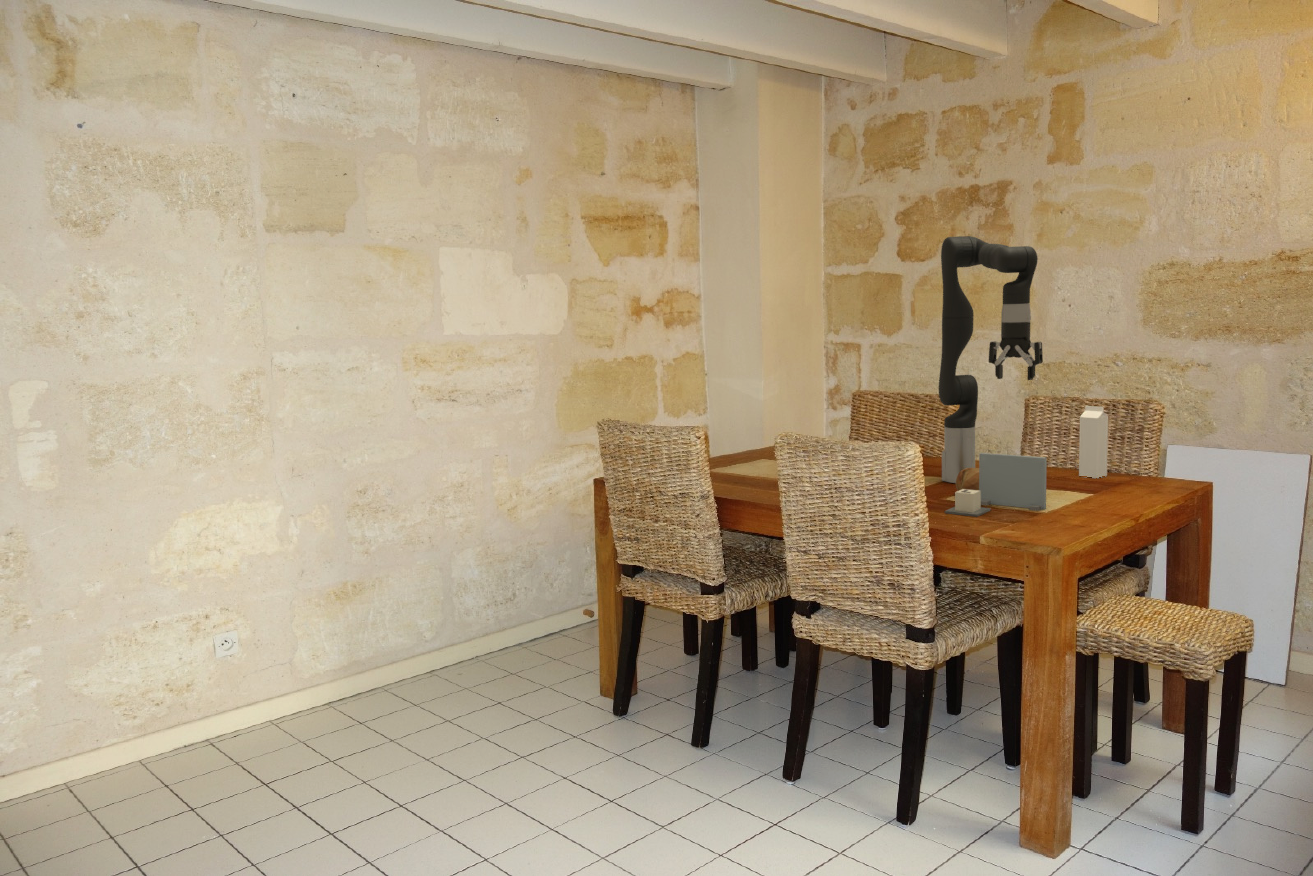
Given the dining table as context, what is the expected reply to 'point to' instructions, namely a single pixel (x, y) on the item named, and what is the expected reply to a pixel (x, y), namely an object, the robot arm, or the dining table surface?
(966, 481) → the bread roll
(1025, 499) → the screen
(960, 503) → the letter cube
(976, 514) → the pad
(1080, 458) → the milk
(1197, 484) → the dining table surface
